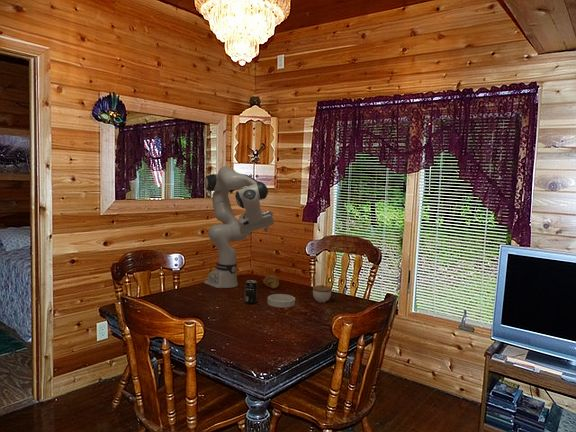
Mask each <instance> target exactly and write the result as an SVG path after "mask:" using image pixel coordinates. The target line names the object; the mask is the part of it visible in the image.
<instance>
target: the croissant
mask: <svg viewBox="0 0 576 432" xmlns="http://www.w3.org/2000/svg"><path fill="white" fill-rule="evenodd" d="M262 282H263V284H264V286H265V287H267V288H270V289H272V290H274V289H277V288H278V287H279V286H280V281H279V278H278V277H277V276H276V275H274V274H269V275H266V277H264V279H262Z"/></svg>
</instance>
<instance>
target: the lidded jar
mask: <svg viewBox="0 0 576 432" xmlns="http://www.w3.org/2000/svg"><path fill="white" fill-rule="evenodd" d="M312 296H313V298H314V300H315V301H316V302H317V301H318V302H317V303H322V302H323V303H327V302H328V301H329V300H330V298H331V296H332V287H330V286H327V285H324V284H321V285H314V286H312ZM326 301H327V302H326Z"/></svg>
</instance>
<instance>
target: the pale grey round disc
mask: <svg viewBox="0 0 576 432" xmlns="http://www.w3.org/2000/svg"><path fill="white" fill-rule="evenodd" d="M266 301H267V303H266V304H268V305H269V306H271V307H274V308H291V307H294V306H295V305H296V297H295V296H293V295H291V294H286V293H285V294H283V293H276V294H275V293H274V294H270V295H268V296H267V300H266Z"/></svg>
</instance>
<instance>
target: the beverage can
mask: <svg viewBox="0 0 576 432" xmlns="http://www.w3.org/2000/svg"><path fill="white" fill-rule="evenodd" d="M257 300H258V283H257V280H253V279H248V280H246V282H244V303H246V304H248V305H253V304H255V303H257V302H258V301H257Z"/></svg>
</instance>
